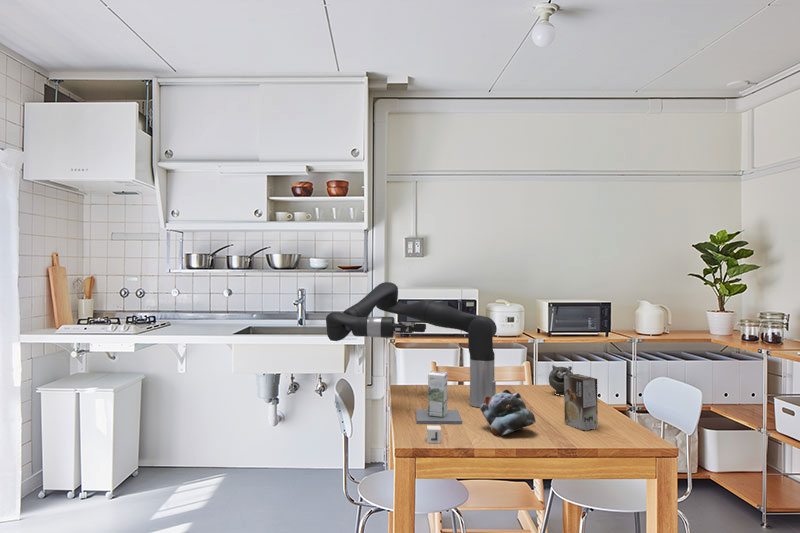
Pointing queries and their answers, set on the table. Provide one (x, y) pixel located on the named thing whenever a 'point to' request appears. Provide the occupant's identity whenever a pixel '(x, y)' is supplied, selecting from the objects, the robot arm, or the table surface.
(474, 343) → the robot arm
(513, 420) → the lucky cat figurine
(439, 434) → the white letter cube
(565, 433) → the table surface
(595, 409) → the coffee box
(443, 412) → the syrup box
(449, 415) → the grey board
